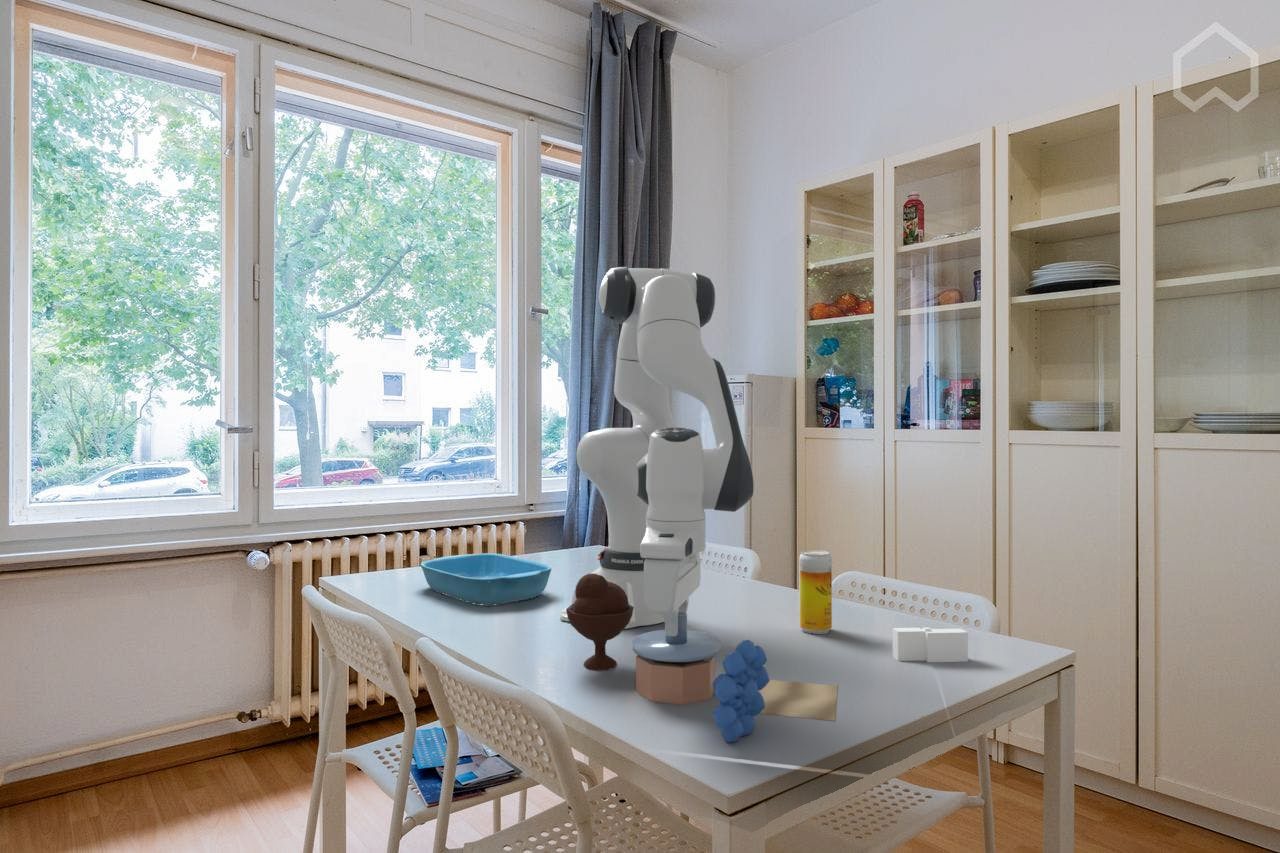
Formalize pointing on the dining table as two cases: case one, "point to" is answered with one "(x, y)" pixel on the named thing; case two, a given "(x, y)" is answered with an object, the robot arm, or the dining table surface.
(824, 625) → the beer can
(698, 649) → the lid
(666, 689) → the bowl
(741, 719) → the grapes
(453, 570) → the casserole dish
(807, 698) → the plate
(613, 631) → the ice cream bowl
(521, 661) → the dining table surface
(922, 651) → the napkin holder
